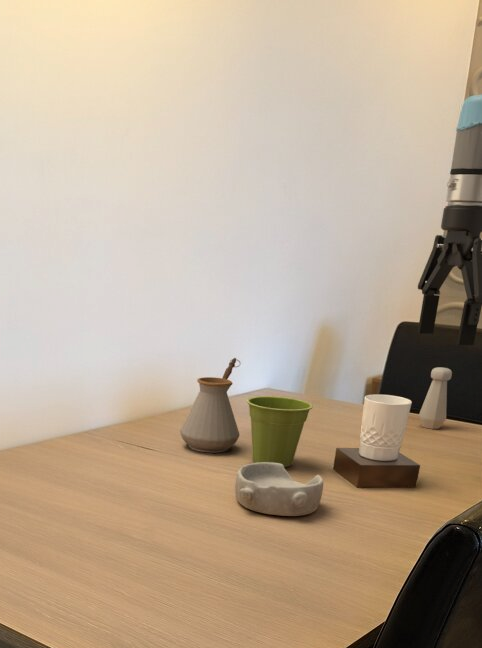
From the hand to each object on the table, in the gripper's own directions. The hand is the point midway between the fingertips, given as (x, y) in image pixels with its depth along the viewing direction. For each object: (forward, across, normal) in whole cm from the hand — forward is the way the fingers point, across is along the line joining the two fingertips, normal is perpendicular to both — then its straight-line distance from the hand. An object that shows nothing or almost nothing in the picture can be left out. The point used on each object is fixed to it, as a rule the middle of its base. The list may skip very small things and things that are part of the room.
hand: (444, 339), depth 145 cm
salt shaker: (+24, -32, +19) cm, 44 cm away
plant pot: (+23, -4, -28) cm, 37 cm away
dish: (+23, +19, -36) cm, 47 cm away
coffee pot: (+23, -19, -35) cm, 46 cm away
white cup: (+19, +6, -12) cm, 24 cm away
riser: (+23, +6, -12) cm, 27 cm away
